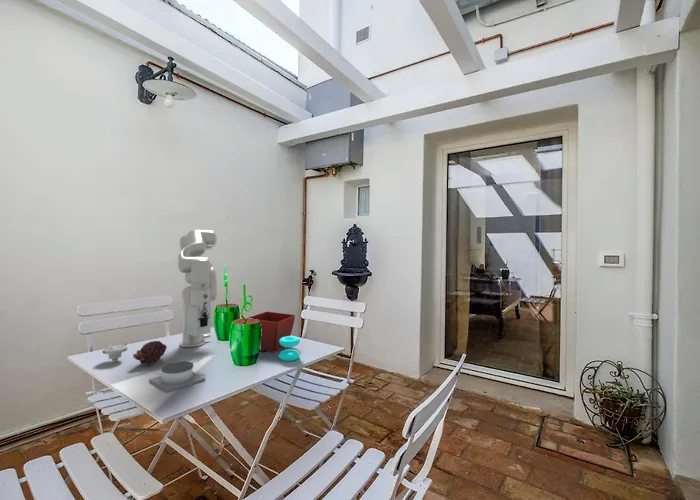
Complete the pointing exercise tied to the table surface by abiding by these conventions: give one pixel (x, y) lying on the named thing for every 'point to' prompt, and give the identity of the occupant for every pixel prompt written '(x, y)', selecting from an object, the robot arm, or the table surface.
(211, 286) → the robot arm
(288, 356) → the donuts
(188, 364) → the duct stub
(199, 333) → the supplement box
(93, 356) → the table surface
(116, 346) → the showerhead
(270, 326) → the plant pot
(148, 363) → the pine cone
